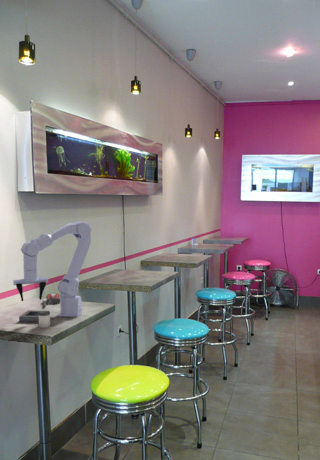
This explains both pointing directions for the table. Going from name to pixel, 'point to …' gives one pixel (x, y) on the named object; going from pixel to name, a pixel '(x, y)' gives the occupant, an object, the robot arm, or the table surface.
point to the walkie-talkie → (51, 299)
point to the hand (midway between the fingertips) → (31, 299)
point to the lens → (44, 319)
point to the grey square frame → (30, 316)
